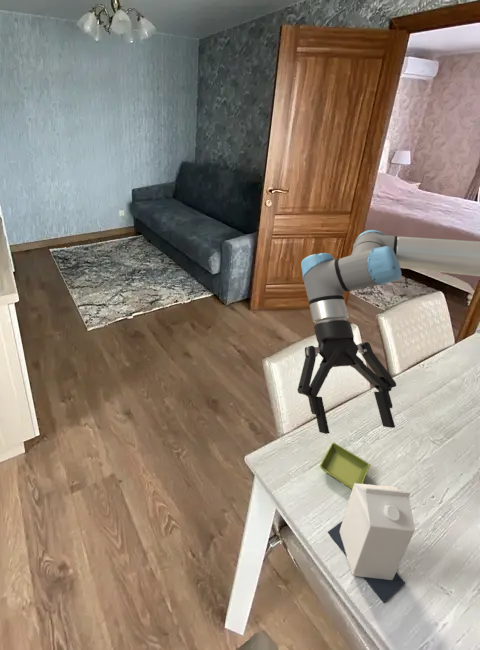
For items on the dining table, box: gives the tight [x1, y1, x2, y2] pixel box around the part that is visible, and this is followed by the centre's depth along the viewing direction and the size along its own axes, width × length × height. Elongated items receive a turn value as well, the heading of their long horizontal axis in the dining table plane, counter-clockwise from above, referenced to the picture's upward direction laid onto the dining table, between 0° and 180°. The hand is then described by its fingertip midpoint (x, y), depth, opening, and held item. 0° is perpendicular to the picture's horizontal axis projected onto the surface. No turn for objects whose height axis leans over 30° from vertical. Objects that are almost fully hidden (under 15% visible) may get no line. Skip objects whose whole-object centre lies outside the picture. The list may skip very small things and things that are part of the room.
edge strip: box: [327, 521, 406, 604], centre depth 66 cm, size 12×6×1 cm, turn 27°
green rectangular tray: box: [319, 442, 371, 490], centre depth 81 cm, size 9×9×2 cm
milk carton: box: [339, 483, 416, 580], centre depth 62 cm, size 7×7×19 cm
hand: (357, 430), depth 68 cm, fingers open, 13 cm apart
